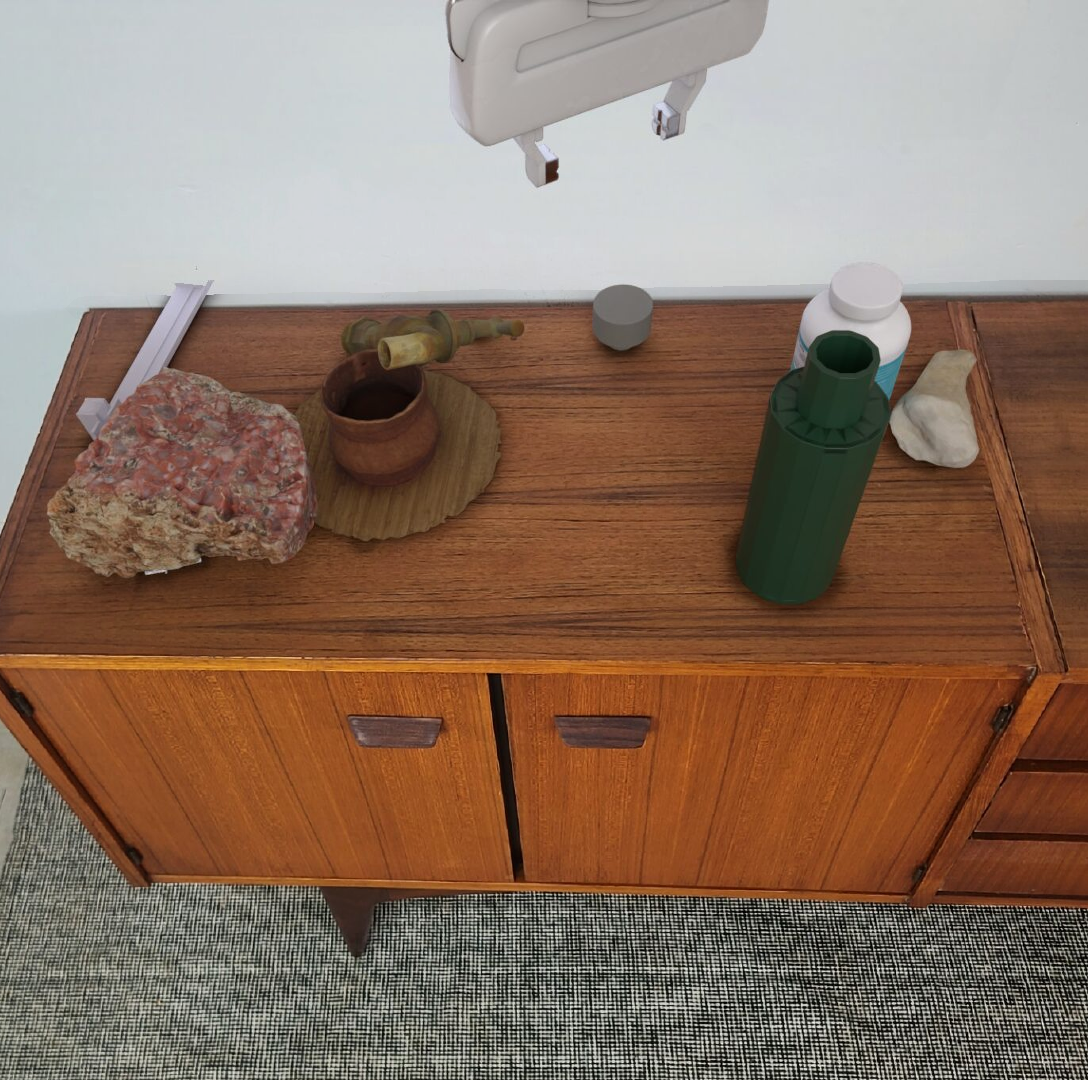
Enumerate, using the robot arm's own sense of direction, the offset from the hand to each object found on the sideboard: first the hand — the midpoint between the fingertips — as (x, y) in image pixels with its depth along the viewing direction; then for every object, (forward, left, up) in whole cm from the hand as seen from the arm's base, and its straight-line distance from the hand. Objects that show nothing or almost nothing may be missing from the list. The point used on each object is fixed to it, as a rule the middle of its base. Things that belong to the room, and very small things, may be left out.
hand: (605, 156), depth 69 cm
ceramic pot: (+16, +7, -21) cm, 27 cm away
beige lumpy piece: (-26, +3, -21) cm, 34 cm away
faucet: (+20, +3, -14) cm, 24 cm away
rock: (+27, +7, -16) cm, 32 cm away
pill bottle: (-18, +4, -21) cm, 28 cm away
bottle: (-13, +17, -21) cm, 30 cm away
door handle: (+39, -3, -19) cm, 44 cm away
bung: (-2, -5, -21) cm, 22 cm away
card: (+29, +17, -21) cm, 40 cm away
